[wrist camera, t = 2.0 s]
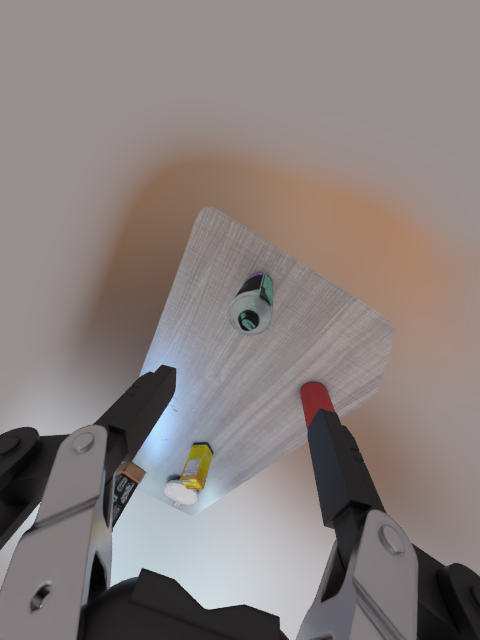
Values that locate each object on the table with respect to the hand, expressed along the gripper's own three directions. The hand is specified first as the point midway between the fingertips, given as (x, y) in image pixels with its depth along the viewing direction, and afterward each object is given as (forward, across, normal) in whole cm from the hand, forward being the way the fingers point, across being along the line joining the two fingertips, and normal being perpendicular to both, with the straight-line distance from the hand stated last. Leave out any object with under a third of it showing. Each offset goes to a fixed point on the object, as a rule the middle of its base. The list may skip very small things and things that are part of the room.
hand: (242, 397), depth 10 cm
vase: (+30, +12, +95) cm, 101 cm away
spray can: (+30, +1, 0) cm, 30 cm away
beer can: (+30, -19, +24) cm, 43 cm away
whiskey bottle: (+31, +38, +96) cm, 108 cm away
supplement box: (+30, +7, +63) cm, 71 cm away
